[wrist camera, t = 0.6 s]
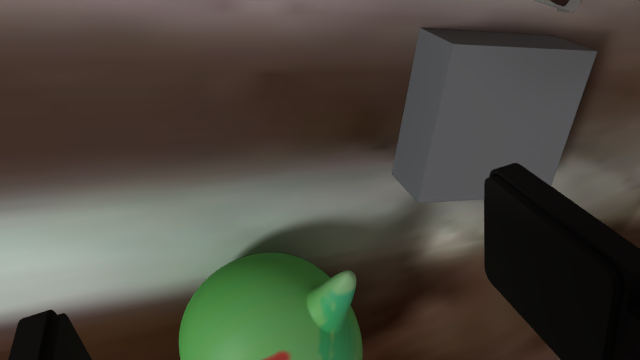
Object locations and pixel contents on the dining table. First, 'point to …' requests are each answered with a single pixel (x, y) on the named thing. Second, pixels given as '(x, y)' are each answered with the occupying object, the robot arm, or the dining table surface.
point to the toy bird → (271, 313)
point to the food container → (562, 4)
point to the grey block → (486, 109)
